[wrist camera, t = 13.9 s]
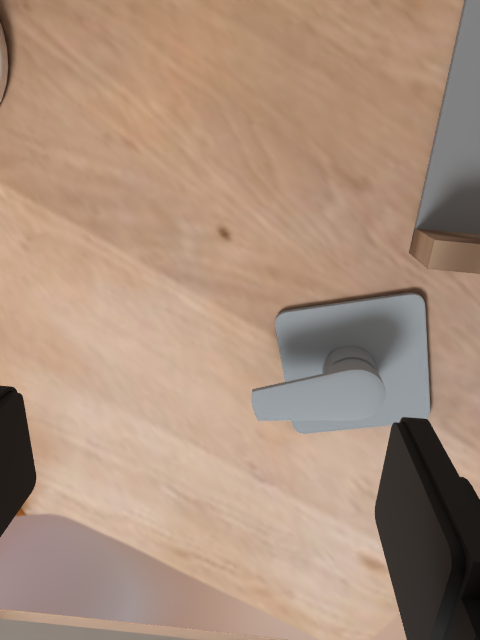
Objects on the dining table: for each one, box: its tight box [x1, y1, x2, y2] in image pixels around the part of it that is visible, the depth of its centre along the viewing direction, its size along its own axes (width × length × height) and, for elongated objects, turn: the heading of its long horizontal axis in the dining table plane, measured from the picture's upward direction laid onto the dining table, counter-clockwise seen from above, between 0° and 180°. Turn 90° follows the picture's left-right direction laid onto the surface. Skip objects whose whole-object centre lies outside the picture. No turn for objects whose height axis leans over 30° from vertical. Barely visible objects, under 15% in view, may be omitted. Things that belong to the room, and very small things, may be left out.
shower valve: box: [252, 292, 430, 434], centre depth 37 cm, size 12×6×15 cm
